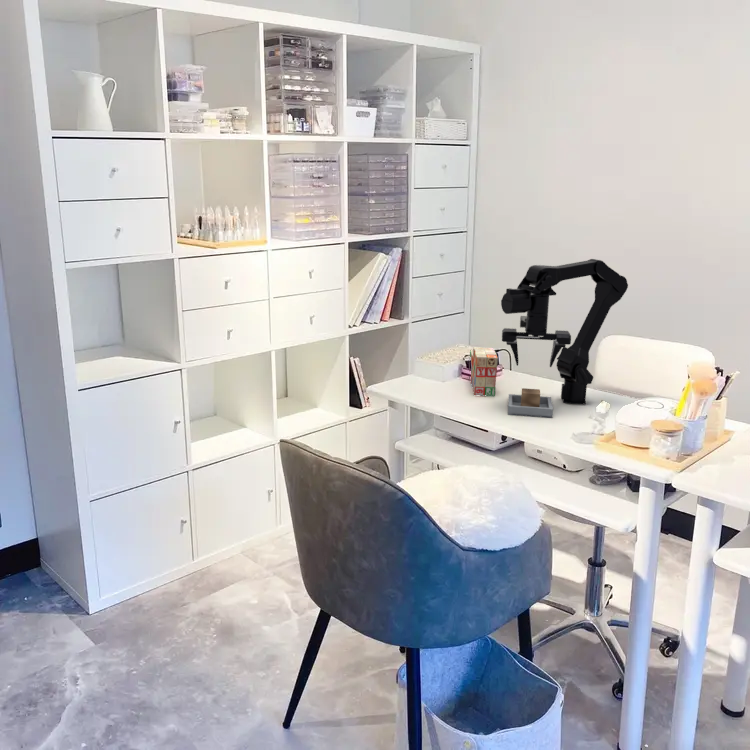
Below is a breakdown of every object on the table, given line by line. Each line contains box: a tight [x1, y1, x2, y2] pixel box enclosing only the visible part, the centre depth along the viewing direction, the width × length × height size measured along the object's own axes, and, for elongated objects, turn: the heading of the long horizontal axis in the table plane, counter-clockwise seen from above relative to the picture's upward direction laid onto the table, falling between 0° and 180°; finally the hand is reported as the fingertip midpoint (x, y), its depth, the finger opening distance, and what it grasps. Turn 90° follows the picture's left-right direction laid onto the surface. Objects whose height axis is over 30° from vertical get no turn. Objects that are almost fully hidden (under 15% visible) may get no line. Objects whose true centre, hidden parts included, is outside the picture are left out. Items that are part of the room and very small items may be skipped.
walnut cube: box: [520, 387, 541, 407], centre depth 217 cm, size 5×5×5 cm
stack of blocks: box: [469, 347, 499, 397], centre depth 238 cm, size 21×6×12 cm, turn 178°
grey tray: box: [507, 393, 554, 419], centre depth 217 cm, size 12×12×2 cm
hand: (533, 366), depth 218 cm, fingers open, 9 cm apart
